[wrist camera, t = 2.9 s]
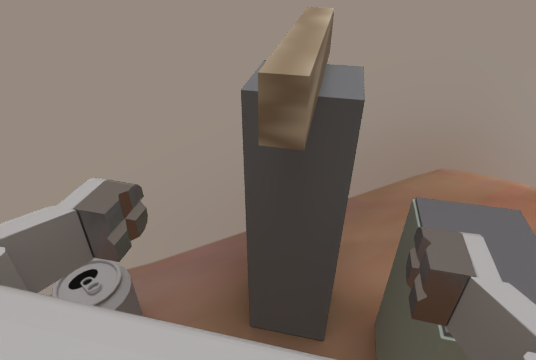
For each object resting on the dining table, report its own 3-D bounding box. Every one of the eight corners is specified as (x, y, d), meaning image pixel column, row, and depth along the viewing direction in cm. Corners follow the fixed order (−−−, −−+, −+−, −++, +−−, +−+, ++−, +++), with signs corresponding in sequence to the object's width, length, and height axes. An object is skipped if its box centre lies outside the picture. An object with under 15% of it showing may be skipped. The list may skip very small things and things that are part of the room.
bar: (329, 52, 35) (334, 8, 33) (304, 150, 19) (309, 76, 17) (304, 51, 35) (307, 7, 33) (258, 145, 19) (257, 72, 17)
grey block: (452, 339, 42) (521, 209, 31) (486, 486, 31) (616, 366, 19) (374, 324, 44) (413, 195, 32) (379, 459, 32) (442, 334, 21)
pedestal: (328, 287, 48) (363, 66, 31) (323, 341, 42) (364, 100, 25) (264, 276, 50) (264, 60, 33) (250, 326, 43) (241, 89, 26)
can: (125, 308, 45) (101, 240, 38) (162, 343, 41) (143, 274, 35) (68, 353, 40) (28, 284, 34) (104, 396, 37) (68, 329, 30)
